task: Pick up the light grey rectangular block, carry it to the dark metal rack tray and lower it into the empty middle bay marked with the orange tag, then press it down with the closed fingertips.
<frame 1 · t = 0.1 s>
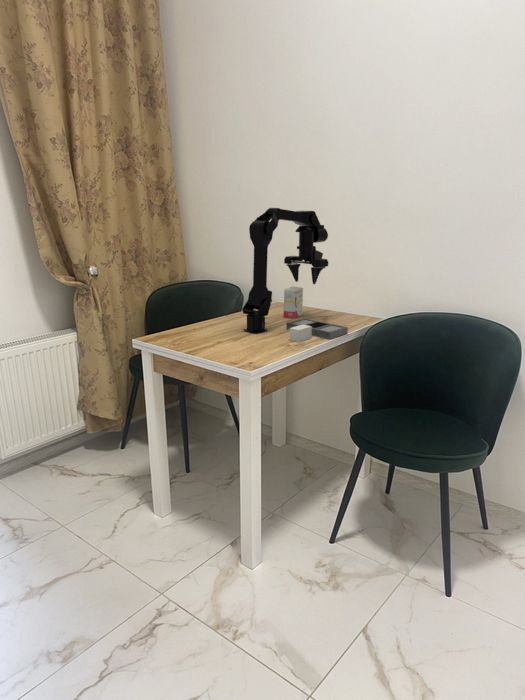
hand: (305, 282, 200), 15 cm above the table, fingers open, 9 cm apart
ink box: (293, 316, 208), on the table
rack: (316, 331, 184), on the table
light grey rectangular block: (300, 339, 174), on the table
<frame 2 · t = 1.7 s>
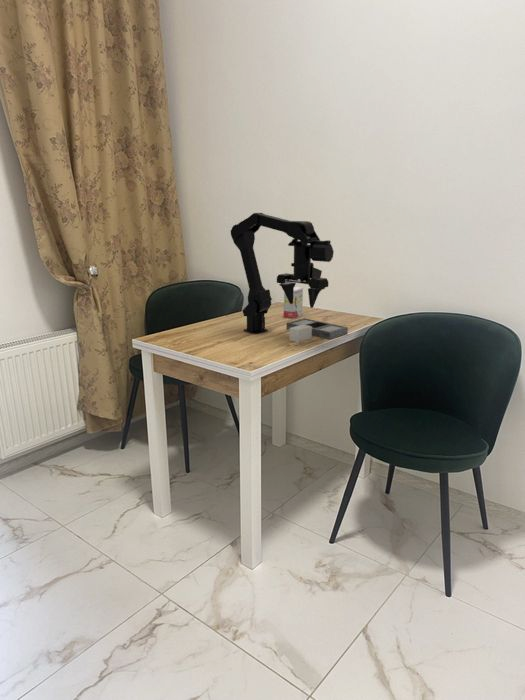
hand: (301, 305, 171), 12 cm above the table, fingers open, 9 cm apart
nothing on the table moved.
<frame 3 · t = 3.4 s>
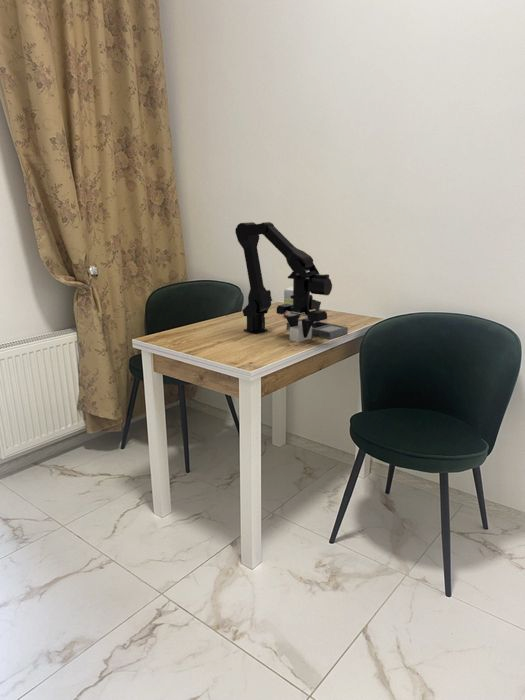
hand: (300, 336, 174), 1 cm above the table, fingers closed on light grey rectangular block, 4 cm apart
light grey rectangular block: (300, 339, 174), on the table, touching gripper
everything else where it was.
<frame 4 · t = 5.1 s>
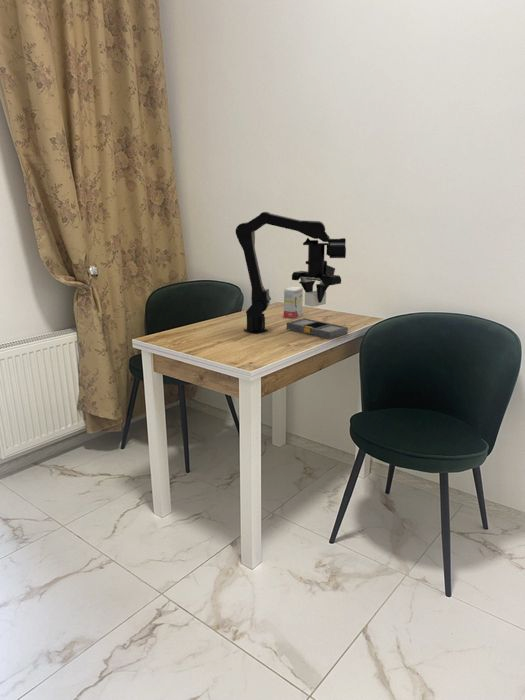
hand: (315, 301, 179), 12 cm above the table, fingers closed on light grey rectangular block, 4 cm apart
light grey rectangular block: (315, 304, 179), point 11 cm above the table, touching gripper
everything else where it was.
when the fingers open (3 cm above the table, at t = 7.1 s): light grey rectangular block drops 2 cm, resting on rack.
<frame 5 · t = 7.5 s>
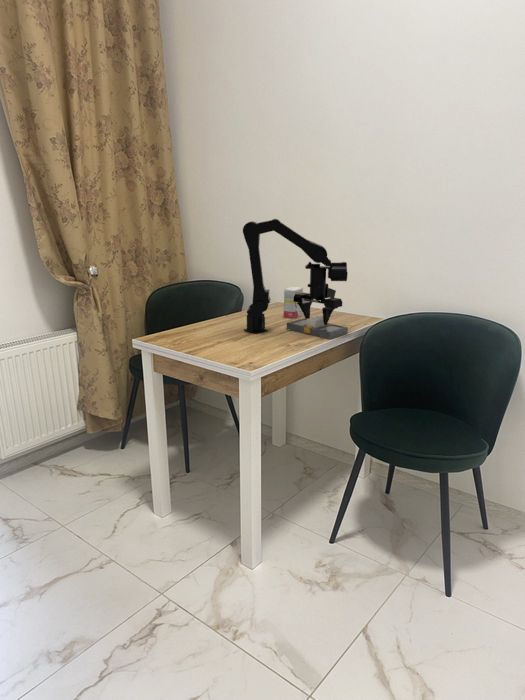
hand: (316, 323, 183), 3 cm above the table, fingers open, 8 cm apart
light grey rectangular block: (316, 330, 184), resting on rack
everything else where it was.
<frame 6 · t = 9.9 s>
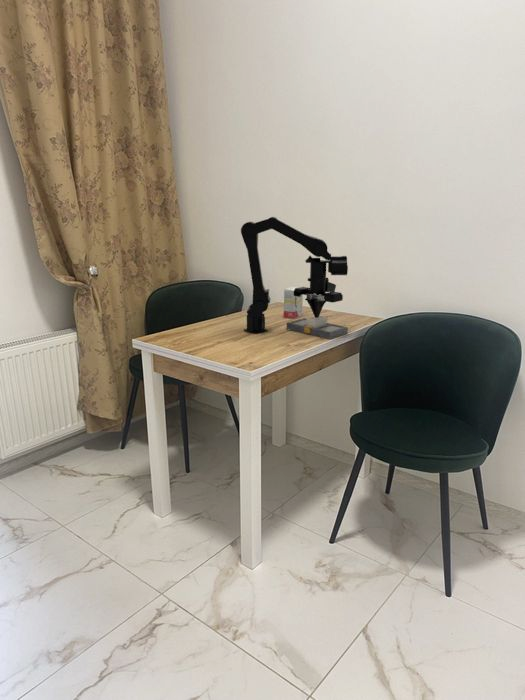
hand: (316, 317, 182), 5 cm above the table, fingers closed
nothing on the table moved.
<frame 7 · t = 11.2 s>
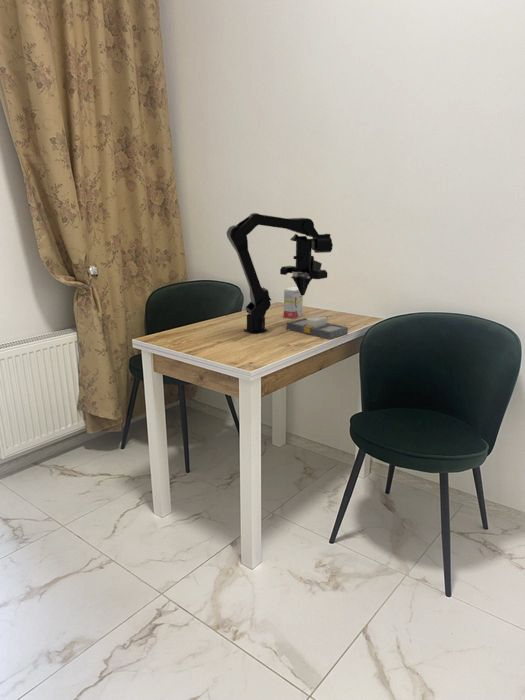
hand: (302, 295, 186), 12 cm above the table, fingers closed
nothing on the table moved.
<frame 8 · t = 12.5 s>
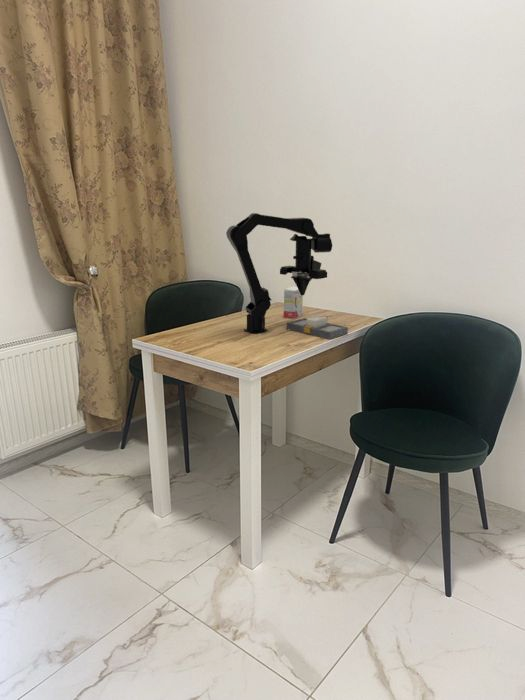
hand: (302, 295, 186), 13 cm above the table, fingers closed
nothing on the table moved.
at the end: light grey rectangular block 0.0 cm off-centre on the rack, point 0.5 cm above the rack's base; light grey rectangular block tilted 0°; the gripper is holding nothing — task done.
